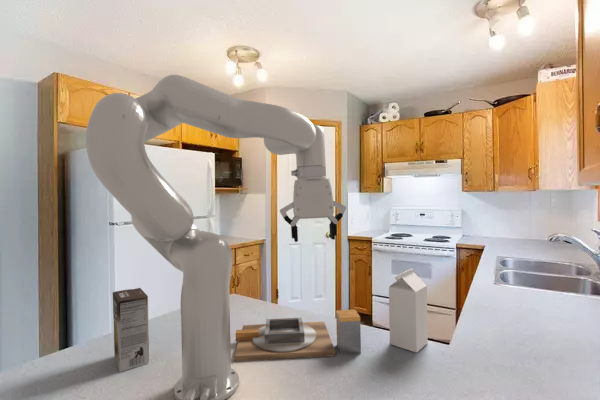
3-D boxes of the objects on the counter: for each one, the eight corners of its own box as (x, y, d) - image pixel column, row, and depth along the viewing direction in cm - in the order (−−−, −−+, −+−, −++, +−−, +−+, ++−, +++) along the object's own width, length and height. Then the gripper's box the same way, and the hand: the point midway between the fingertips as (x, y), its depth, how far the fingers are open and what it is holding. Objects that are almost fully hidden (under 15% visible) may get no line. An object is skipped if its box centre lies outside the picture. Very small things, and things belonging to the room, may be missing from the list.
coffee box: (113, 357, 77) (111, 291, 77) (142, 349, 81) (140, 286, 81) (118, 373, 70) (117, 301, 69) (150, 363, 73) (148, 295, 73)
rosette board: (334, 355, 75) (334, 338, 75) (231, 361, 74) (230, 343, 74) (324, 325, 93) (324, 311, 93) (240, 329, 92) (240, 315, 92)
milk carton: (427, 343, 81) (426, 270, 81) (416, 353, 76) (415, 275, 76) (401, 335, 86) (400, 266, 86) (389, 344, 80) (388, 271, 80)
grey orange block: (360, 353, 76) (360, 316, 76) (340, 354, 76) (339, 317, 76) (355, 344, 81) (355, 309, 81) (336, 345, 81) (336, 310, 81)
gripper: (278, 174, 76) (281, 244, 77) (347, 172, 78) (350, 240, 79) (277, 176, 84) (280, 239, 84) (340, 173, 86) (343, 236, 86)
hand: (314, 239), depth 81 cm, fingers open, 9 cm apart
